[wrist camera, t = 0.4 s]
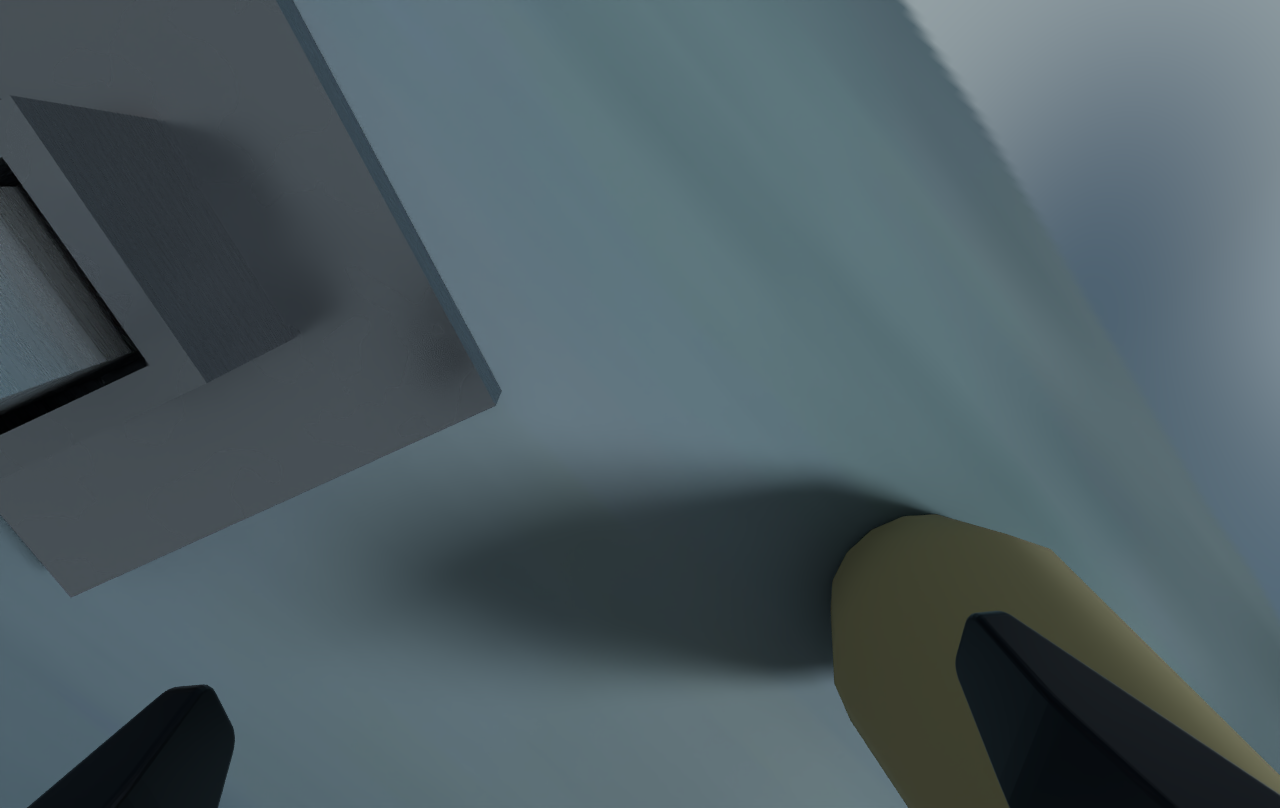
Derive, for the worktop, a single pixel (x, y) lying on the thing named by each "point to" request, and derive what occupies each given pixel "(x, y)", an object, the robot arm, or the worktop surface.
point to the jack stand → (212, 278)
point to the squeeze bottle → (930, 636)
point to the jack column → (48, 312)
